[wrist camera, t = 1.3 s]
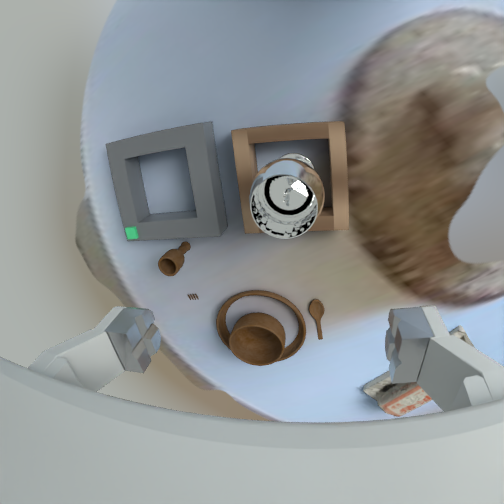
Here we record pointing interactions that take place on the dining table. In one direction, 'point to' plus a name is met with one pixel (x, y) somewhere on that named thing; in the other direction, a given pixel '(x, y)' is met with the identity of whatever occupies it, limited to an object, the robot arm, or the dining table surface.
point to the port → (201, 174)
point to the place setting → (251, 322)
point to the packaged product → (402, 389)
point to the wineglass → (287, 196)
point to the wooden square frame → (247, 137)
